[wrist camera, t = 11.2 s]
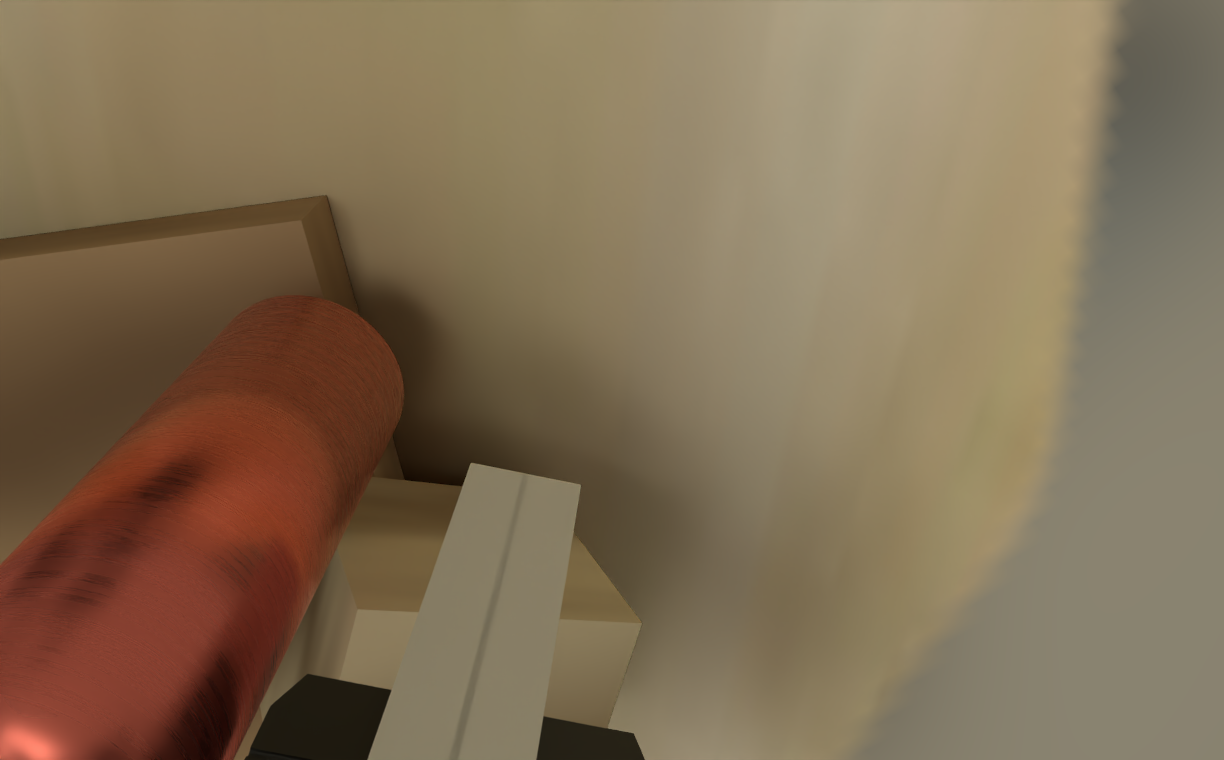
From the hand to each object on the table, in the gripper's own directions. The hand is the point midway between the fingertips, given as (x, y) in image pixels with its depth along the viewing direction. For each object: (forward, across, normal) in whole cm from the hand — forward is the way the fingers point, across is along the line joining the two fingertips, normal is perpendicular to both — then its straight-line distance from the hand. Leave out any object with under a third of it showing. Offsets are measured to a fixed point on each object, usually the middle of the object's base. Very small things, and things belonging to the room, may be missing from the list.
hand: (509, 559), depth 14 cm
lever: (+4, -7, -9) cm, 12 cm away
